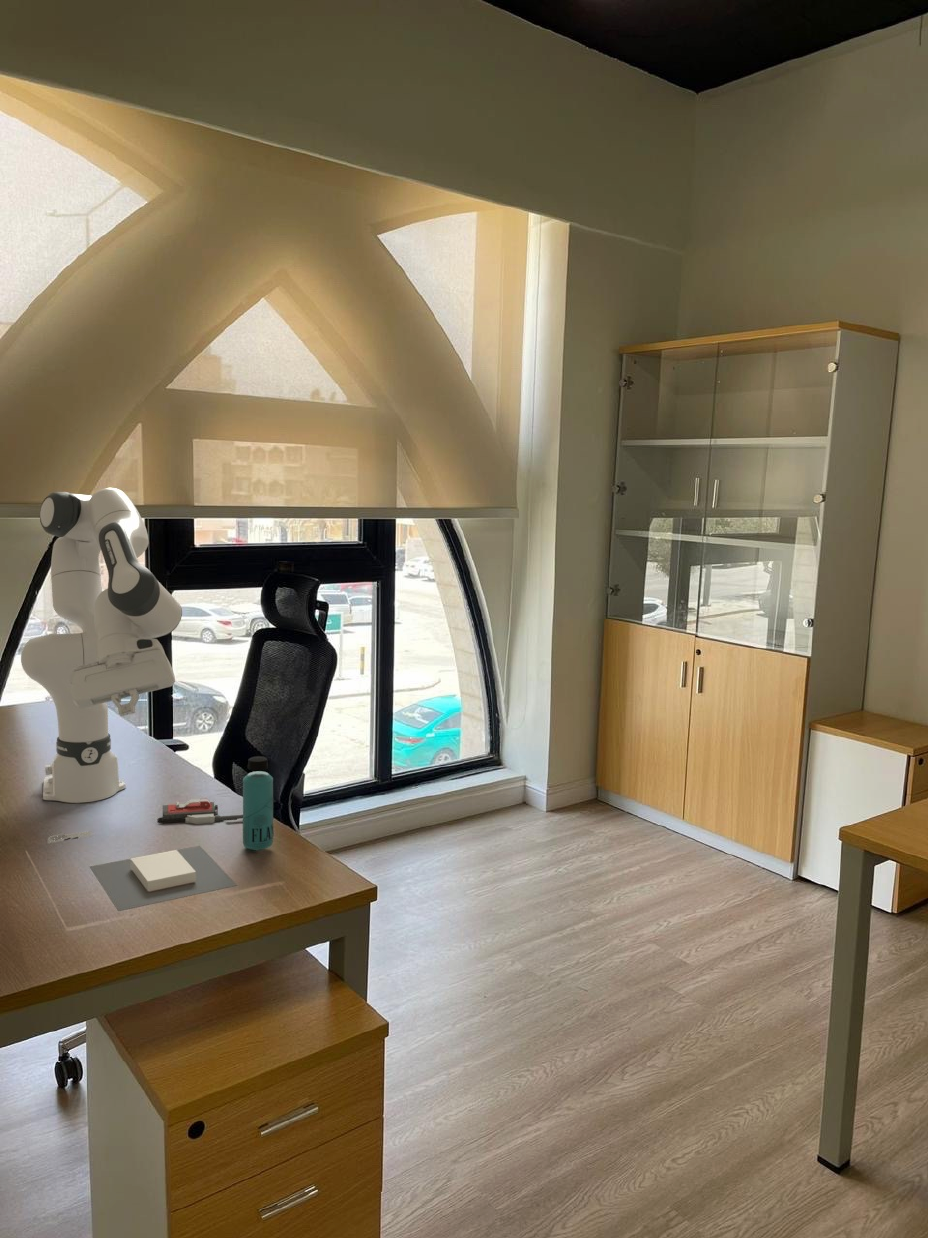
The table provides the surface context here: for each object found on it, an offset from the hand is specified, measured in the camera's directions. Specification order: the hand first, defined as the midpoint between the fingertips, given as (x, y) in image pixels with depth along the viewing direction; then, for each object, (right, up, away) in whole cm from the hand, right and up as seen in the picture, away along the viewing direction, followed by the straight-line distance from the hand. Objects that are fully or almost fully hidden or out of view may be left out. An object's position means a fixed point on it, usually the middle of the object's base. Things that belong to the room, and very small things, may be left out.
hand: (127, 713), depth 196 cm
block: (+7, -28, -4) cm, 29 cm away
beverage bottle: (+25, -29, +7) cm, 39 cm away
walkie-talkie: (+9, -27, +23) cm, 37 cm away
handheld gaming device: (-14, -29, +5) cm, 32 cm away
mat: (+10, -31, -8) cm, 34 cm away
